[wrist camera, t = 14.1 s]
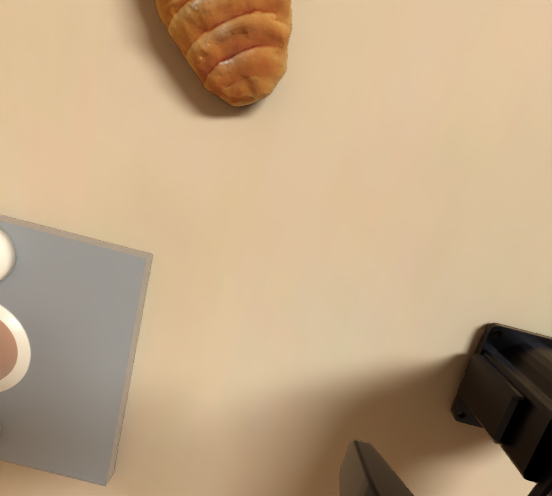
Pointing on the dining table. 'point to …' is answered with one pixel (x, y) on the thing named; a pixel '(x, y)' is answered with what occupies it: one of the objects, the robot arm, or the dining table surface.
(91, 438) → the board
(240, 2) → the pastry
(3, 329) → the canister
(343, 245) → the dining table surface
